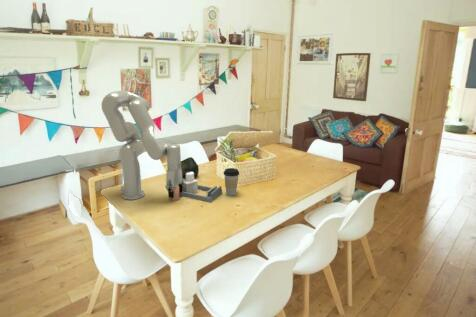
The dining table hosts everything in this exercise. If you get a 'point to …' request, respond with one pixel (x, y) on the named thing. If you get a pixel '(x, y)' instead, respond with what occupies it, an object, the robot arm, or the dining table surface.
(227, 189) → the coffee cup
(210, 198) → the tray
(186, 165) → the squash
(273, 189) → the dining table surface
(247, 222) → the dining table surface
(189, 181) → the container
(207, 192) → the pusher
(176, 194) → the jar
